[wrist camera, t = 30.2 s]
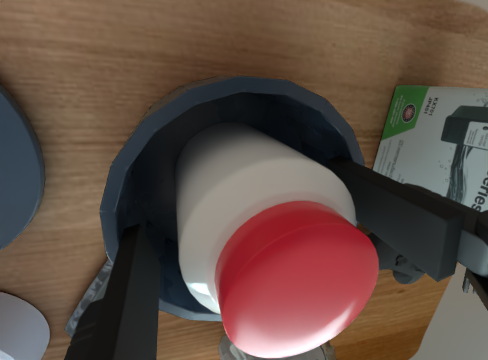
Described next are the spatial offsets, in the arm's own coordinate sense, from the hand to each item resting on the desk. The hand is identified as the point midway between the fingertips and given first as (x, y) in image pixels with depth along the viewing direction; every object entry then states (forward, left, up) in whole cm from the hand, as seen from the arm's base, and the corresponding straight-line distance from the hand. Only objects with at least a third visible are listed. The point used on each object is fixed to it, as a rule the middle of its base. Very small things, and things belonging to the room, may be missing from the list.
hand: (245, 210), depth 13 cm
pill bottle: (0, 0, -5) cm, 5 cm away
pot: (0, 0, -5) cm, 5 cm away
